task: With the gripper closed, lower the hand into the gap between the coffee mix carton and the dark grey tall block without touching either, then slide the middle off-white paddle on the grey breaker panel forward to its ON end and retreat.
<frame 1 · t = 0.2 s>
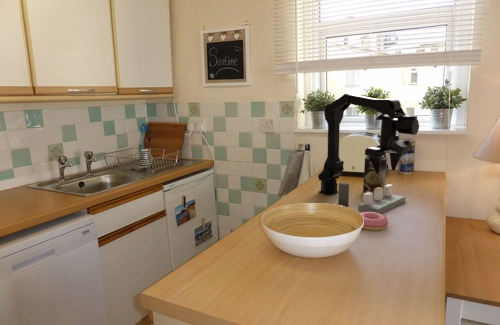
hand: (385, 171, 144), 14 cm above the worktop, tool pointing down, fingers open, 9 cm apart
dark grey tall block: (343, 205, 147), on the worktop
doughnut: (370, 227, 126), on the worktop
paddle left: (367, 198, 142), point 4 cm above the worktop, slide at 0.0 cm
coffee box: (373, 193, 163), on the worktop
paddle right: (388, 190, 153), point 4 cm above the worktop, slide at 0.0 cm
breaker panel: (382, 205, 147), on the worktop
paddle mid: (378, 193, 147), point 5 cm above the worktop, slide at 0.0 cm
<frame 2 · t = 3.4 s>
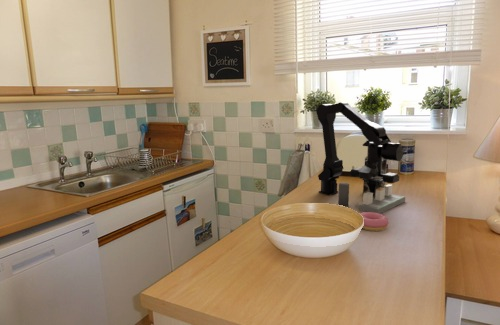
hand: (372, 195, 149), 3 cm above the worktop, tool pointing down, fingers closed
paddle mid: (380, 193, 147), point 5 cm above the worktop, slide at 0.7 cm, touching gripper
everything else where it was.
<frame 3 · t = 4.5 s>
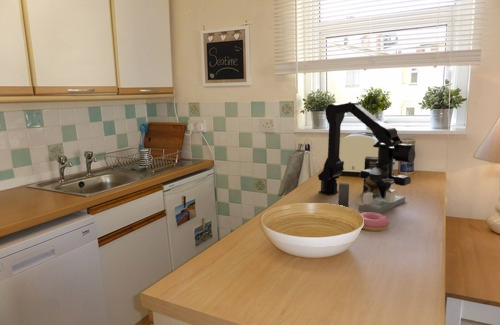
hand: (383, 197, 146), 3 cm above the worktop, tool pointing down, fingers closed
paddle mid: (390, 196, 144), point 5 cm above the worktop, slide at 5.1 cm, touching gripper
everything else where it was.
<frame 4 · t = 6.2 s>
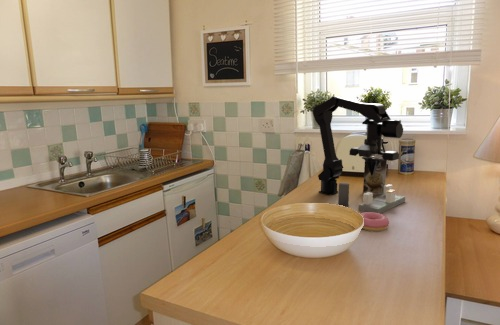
hand: (372, 174, 148), 12 cm above the worktop, tool pointing down, fingers closed
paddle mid: (390, 196, 144), point 5 cm above the worktop, slide at 5.0 cm
everything else where it was.
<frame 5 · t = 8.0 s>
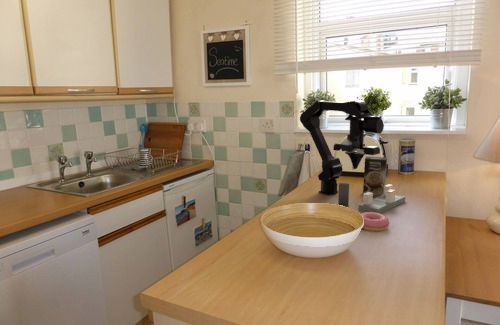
hand: (355, 168, 153), 13 cm above the worktop, tool pointing down, fingers closed
nothing on the worktop moved.
at the end: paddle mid slide at 5.0 cm; coffee box moved 0.2 cm from its start; dark grey tall block moved 0.0 cm from its start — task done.
